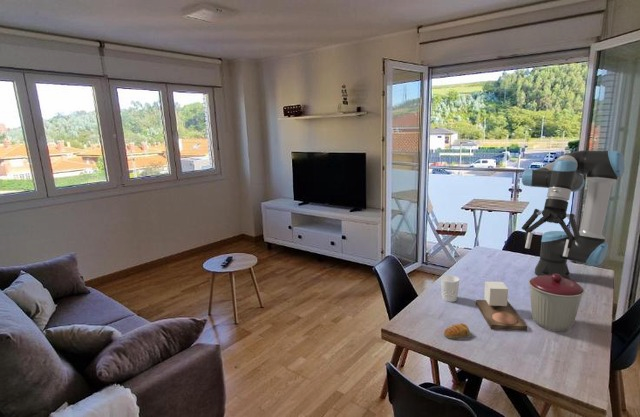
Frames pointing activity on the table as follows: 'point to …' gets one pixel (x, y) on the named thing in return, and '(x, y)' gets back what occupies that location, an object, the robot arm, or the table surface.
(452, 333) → the pastry
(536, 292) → the canister
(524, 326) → the board
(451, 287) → the white cup
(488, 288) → the matte off-white cube
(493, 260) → the table surface
